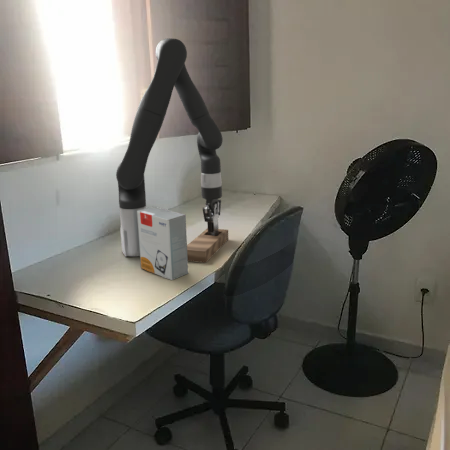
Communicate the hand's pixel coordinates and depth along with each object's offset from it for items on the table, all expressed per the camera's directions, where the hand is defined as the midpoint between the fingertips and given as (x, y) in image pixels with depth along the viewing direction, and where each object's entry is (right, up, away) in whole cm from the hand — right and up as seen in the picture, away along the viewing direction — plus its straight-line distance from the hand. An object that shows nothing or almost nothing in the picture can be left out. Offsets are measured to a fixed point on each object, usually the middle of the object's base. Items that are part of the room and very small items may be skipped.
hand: (213, 229), depth 189 cm
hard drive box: (-15, -13, -24) cm, 31 cm away
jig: (-2, -7, -5) cm, 9 cm away
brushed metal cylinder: (0, -2, 0) cm, 2 cm away
